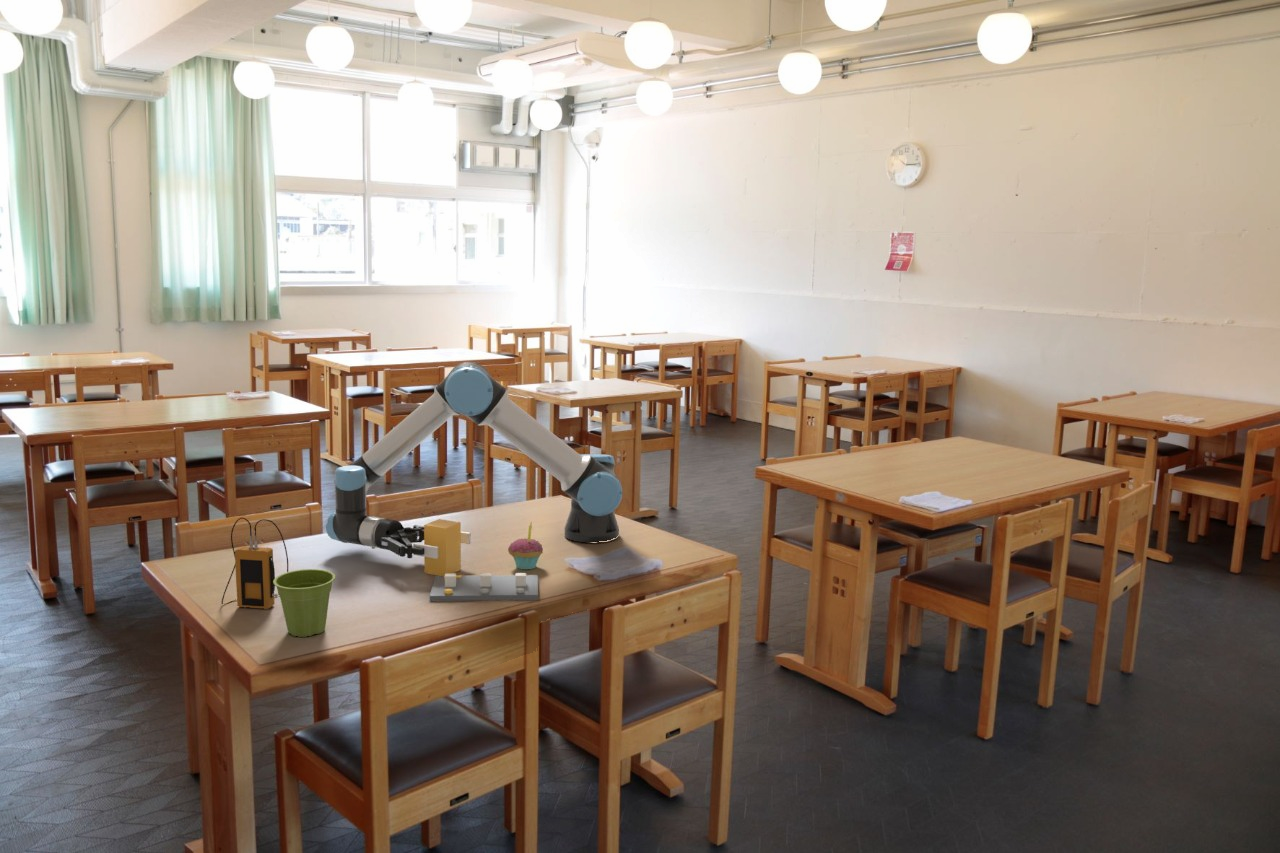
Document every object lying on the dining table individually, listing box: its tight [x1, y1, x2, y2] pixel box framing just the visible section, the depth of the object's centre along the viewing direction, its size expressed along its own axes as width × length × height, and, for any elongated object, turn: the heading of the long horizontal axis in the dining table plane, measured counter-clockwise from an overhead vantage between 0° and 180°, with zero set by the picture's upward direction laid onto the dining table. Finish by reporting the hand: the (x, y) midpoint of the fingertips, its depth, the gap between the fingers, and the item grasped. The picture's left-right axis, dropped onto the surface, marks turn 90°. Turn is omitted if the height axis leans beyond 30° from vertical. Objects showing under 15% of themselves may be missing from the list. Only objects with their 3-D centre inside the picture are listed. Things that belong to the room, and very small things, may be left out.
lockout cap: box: [423, 518, 462, 576], centre depth 240 cm, size 6×6×12 cm
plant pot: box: [273, 568, 336, 638], centre depth 201 cm, size 12×12×11 cm
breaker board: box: [429, 572, 539, 602], centre depth 229 cm, size 24×14×4 cm, turn 96°
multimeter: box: [220, 517, 289, 610], centre depth 216 cm, size 15×10×20 cm
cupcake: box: [507, 521, 544, 570], centre depth 245 cm, size 9×8×12 cm
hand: (454, 545), depth 239 cm, fingers open, 13 cm apart
